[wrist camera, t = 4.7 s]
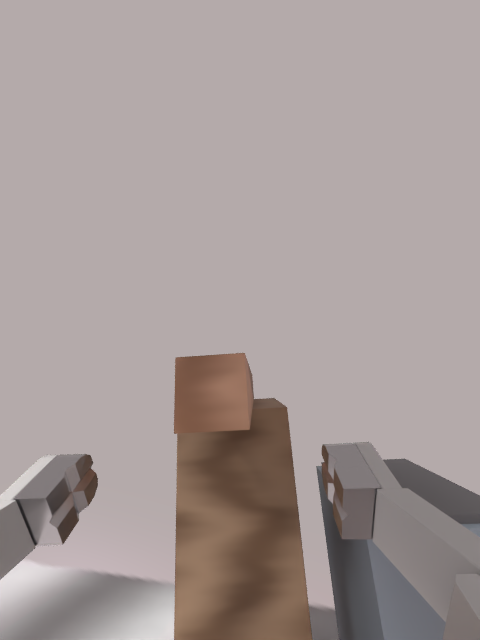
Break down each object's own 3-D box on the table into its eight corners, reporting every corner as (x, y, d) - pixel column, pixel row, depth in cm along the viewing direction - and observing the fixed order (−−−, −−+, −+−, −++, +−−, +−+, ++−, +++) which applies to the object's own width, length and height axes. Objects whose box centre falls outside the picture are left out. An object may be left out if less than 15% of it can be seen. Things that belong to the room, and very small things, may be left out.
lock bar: (174, 433, 9) (175, 357, 10) (231, 399, 30) (229, 376, 31) (249, 429, 9) (244, 352, 10) (253, 398, 30) (252, 375, 31)
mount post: (168, 990, 10) (177, 413, 17) (214, 669, 22) (209, 401, 28) (351, 1002, 10) (287, 407, 16) (299, 669, 21) (274, 398, 28)
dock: (447, 1008, 10) (363, 522, 14) (343, 669, 21) (315, 461, 26) (707, 1024, 9) (532, 517, 14) (455, 668, 21) (406, 457, 25)
